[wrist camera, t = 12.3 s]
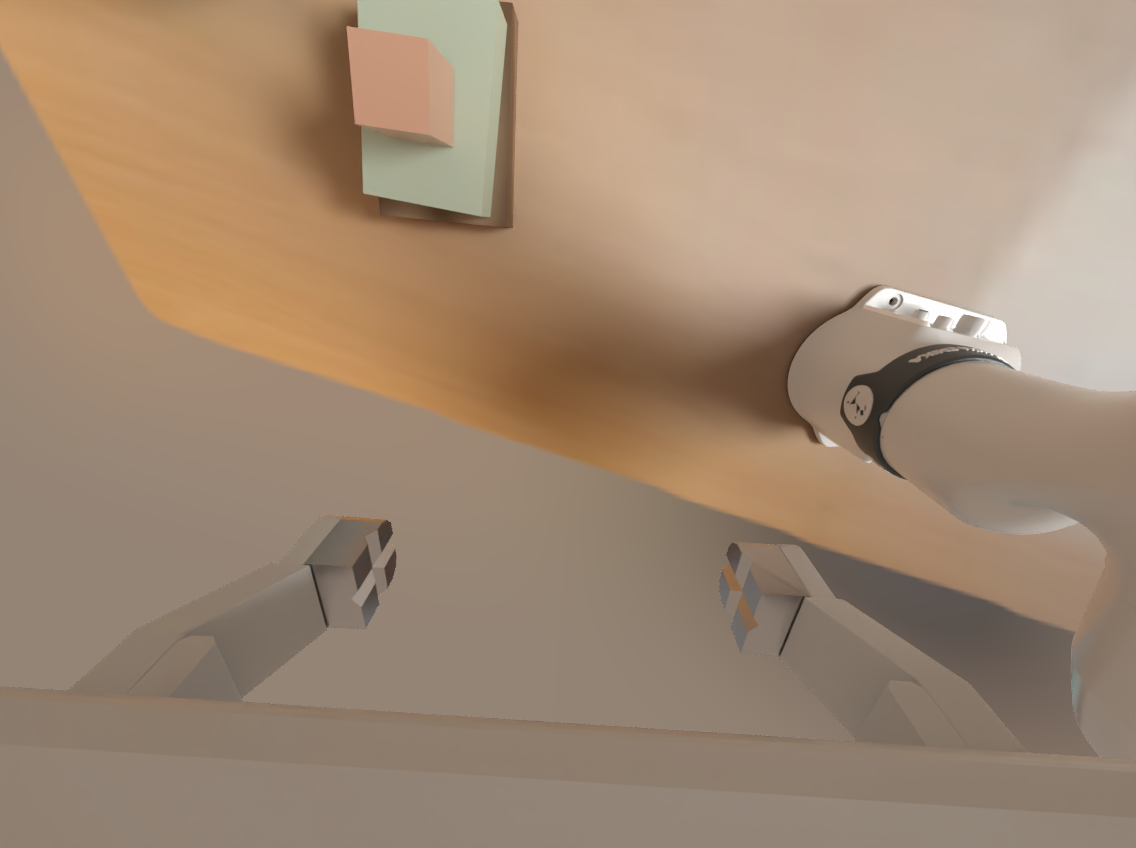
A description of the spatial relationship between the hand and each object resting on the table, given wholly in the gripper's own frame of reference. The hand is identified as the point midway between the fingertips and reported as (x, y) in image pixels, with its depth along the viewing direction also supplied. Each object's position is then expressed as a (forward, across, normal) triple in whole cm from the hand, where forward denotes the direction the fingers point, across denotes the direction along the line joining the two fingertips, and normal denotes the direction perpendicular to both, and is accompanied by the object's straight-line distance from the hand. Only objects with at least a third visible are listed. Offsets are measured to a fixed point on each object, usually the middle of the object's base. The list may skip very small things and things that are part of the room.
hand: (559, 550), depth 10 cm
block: (+32, +13, -15) cm, 37 cm away
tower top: (+36, +13, -15) cm, 41 cm away
